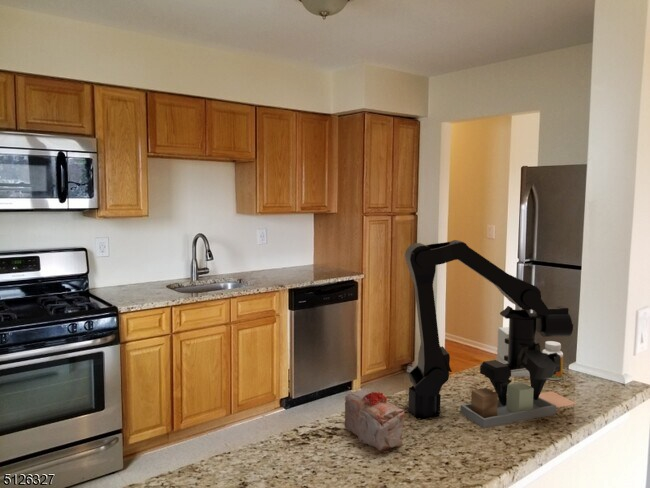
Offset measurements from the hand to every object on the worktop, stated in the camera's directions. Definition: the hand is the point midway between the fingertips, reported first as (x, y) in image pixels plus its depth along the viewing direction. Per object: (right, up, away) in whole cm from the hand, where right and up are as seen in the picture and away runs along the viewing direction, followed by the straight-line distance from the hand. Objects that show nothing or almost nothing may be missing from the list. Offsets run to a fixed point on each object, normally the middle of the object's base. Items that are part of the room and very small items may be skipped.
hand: (519, 402), depth 116 cm
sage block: (0, -2, 0) cm, 2 cm away
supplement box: (+8, 0, +26) cm, 28 cm away
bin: (-3, -3, -1) cm, 4 cm away
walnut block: (-9, -3, -3) cm, 10 cm away
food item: (-35, -4, -12) cm, 37 cm away
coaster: (+10, -2, +7) cm, 13 cm away
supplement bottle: (+18, -1, +23) cm, 30 cm away
